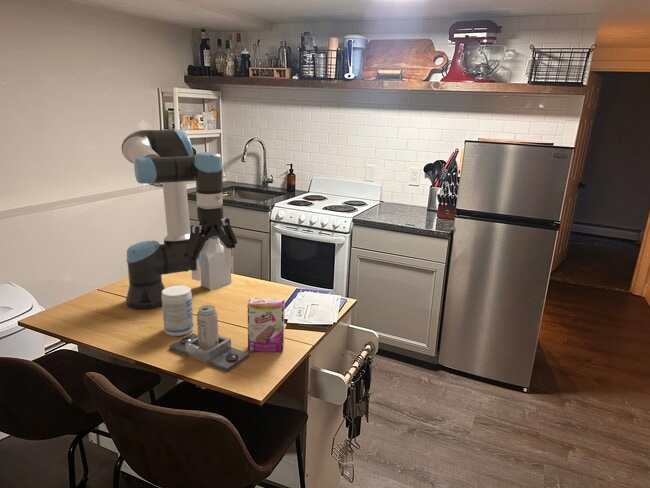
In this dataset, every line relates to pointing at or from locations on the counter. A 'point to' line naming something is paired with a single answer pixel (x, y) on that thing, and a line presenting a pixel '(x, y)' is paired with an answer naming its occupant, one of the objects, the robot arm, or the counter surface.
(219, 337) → the grey base plate
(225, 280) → the soap bottle
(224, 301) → the counter surface
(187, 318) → the supplement tub
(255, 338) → the candy bar box
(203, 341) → the energy drink can
